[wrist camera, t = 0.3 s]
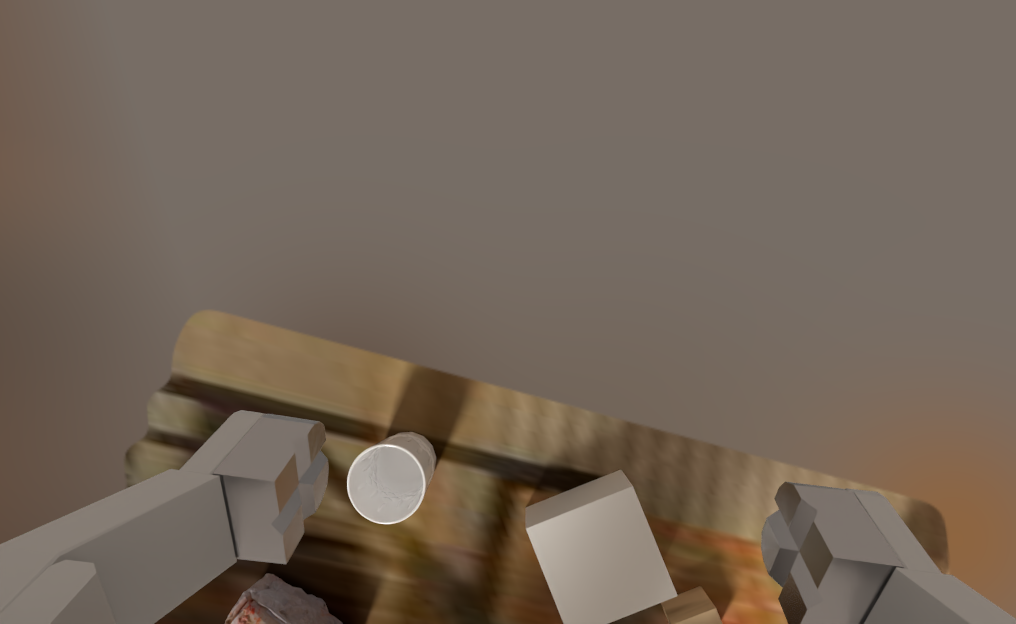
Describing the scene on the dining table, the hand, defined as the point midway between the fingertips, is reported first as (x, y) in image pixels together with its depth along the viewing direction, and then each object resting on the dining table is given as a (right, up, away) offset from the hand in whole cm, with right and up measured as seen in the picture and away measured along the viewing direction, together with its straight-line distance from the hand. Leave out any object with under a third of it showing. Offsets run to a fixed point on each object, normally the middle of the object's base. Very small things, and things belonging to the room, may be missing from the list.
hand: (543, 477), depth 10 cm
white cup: (-12, -14, +53) cm, 57 cm away
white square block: (+9, -23, +52) cm, 58 cm away
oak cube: (+20, -32, +51) cm, 64 cm away
